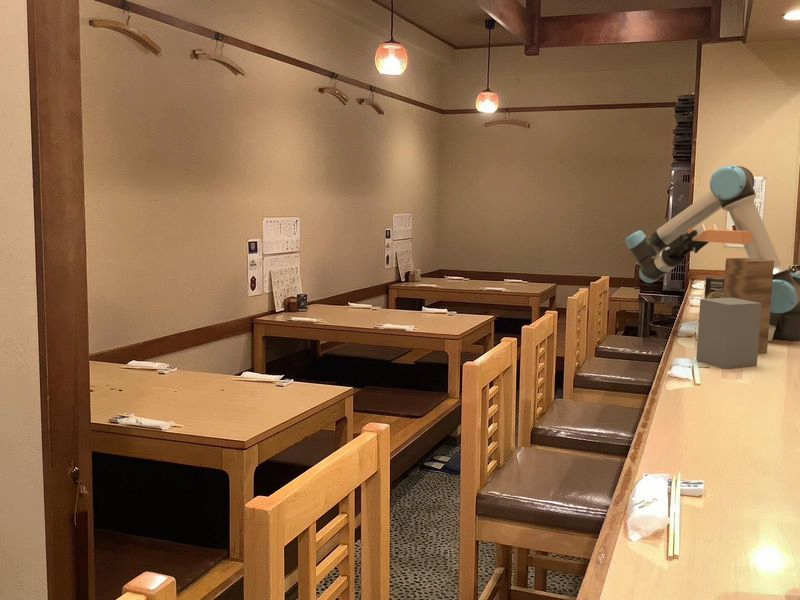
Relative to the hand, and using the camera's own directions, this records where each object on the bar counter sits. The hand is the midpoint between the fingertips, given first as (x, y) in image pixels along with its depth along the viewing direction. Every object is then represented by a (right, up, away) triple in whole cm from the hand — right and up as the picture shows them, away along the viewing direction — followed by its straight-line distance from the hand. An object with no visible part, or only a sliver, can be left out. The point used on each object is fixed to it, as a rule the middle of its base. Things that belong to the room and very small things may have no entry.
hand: (709, 227), depth 260 cm
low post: (-6, -44, -27) cm, 51 cm away
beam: (+1, -5, -4) cm, 6 cm away
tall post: (+7, -41, -9) cm, 43 cm away
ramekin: (+21, -39, +11) cm, 45 cm away
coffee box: (+26, -32, +60) cm, 73 cm away
